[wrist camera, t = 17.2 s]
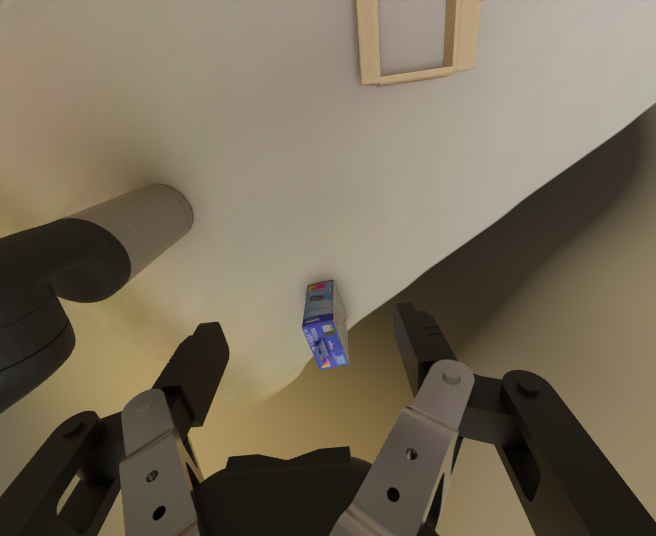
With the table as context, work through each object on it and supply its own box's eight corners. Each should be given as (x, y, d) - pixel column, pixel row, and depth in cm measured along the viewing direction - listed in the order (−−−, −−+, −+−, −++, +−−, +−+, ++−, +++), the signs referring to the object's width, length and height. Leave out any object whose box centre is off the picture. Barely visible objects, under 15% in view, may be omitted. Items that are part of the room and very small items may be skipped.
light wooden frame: (358, 89, 40) (361, 86, 36) (347, -72, 33) (350, -95, 29) (461, 74, 39) (475, 70, 36) (473, -94, 32) (492, -121, 28)
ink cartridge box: (305, 285, 54) (299, 337, 41) (333, 278, 54) (336, 328, 41) (320, 325, 59) (319, 383, 46) (346, 319, 58) (353, 376, 45)
